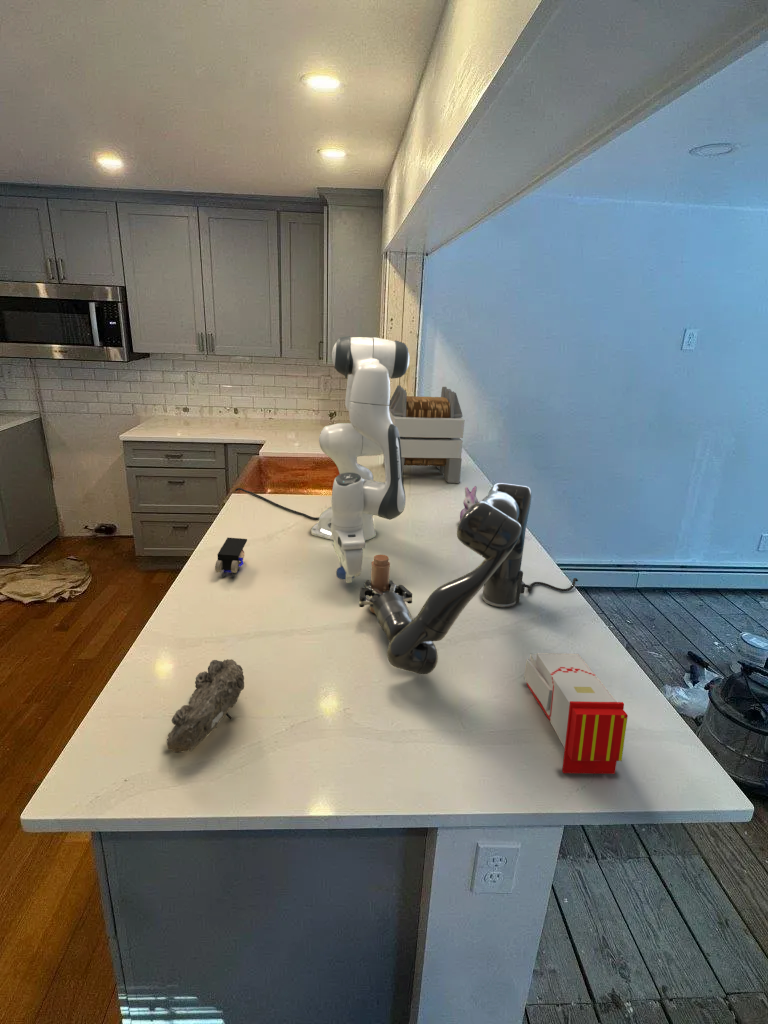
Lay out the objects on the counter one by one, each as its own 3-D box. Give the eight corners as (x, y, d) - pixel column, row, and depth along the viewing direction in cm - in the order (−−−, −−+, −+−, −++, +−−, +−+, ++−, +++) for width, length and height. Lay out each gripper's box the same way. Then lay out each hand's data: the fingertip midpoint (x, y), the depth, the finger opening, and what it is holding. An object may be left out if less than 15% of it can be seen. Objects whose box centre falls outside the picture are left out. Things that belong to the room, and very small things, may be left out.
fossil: (192, 660, 117) (244, 628, 112) (224, 691, 120) (276, 661, 115) (142, 746, 98) (202, 712, 93) (182, 779, 101) (242, 748, 96)
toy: (573, 635, 123) (638, 710, 94) (567, 691, 126) (628, 782, 97) (518, 633, 123) (565, 709, 93) (513, 690, 125) (557, 781, 96)
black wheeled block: (238, 584, 162) (249, 557, 175) (236, 562, 158) (247, 536, 172) (215, 584, 161) (227, 556, 175) (212, 561, 158) (225, 535, 171)
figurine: (467, 532, 204) (471, 492, 198) (451, 522, 212) (455, 484, 207) (488, 528, 208) (493, 489, 203) (472, 519, 216) (476, 482, 211)
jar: (391, 612, 148) (393, 559, 143) (374, 615, 146) (377, 562, 141) (382, 603, 152) (385, 552, 147) (366, 607, 150) (368, 555, 145)
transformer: (382, 463, 289) (386, 382, 275) (445, 464, 293) (451, 384, 279) (390, 482, 257) (394, 392, 243) (460, 483, 261) (468, 394, 247)
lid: (332, 574, 162) (332, 568, 162) (348, 570, 165) (348, 564, 165) (343, 581, 158) (343, 575, 158) (358, 577, 161) (359, 571, 161)
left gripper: (328, 519, 166) (328, 562, 170) (343, 546, 147) (342, 594, 152) (349, 518, 167) (348, 560, 172) (367, 545, 149) (365, 591, 154)
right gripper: (423, 598, 134) (404, 567, 150) (364, 603, 131) (350, 571, 146) (421, 626, 137) (402, 593, 152) (363, 631, 133) (350, 597, 149)
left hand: (346, 576), depth 162 cm, fingers closed on lid, 5 cm apart
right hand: (377, 582), depth 149 cm, fingers closed on jar, 5 cm apart
